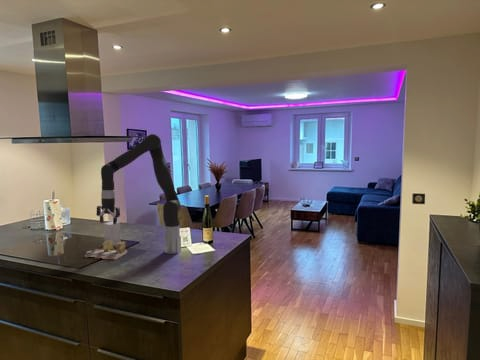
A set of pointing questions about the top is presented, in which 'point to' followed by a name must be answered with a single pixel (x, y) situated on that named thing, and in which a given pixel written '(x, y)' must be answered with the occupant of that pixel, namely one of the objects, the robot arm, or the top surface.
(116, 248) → the gauge board
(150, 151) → the robot arm
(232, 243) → the top surface
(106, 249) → the slider leg
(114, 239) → the skincare box
